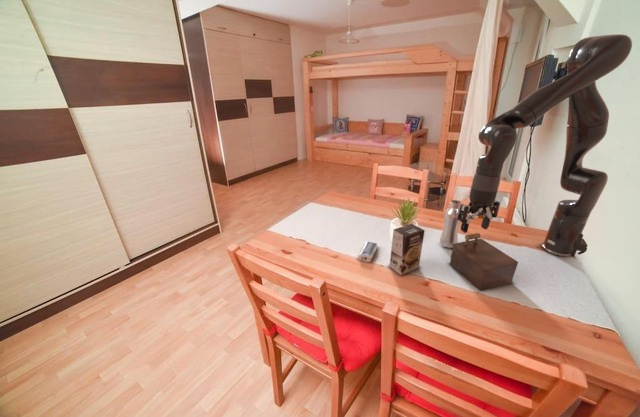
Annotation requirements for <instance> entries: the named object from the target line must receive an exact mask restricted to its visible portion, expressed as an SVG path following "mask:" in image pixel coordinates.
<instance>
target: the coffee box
mask: <svg viewBox="0 0 640 417" xmlns="http://www.w3.org/2000/svg"><path fill="white" fill-rule="evenodd" d="M425 231H426V230H425V229H423V228H421V227H419V226H417V225H415V224H414V223H409V224H406V225H402V226H399V227H396V228H393V231H392V239H391V240H392V241H391V248H390V249H391V251H390V258H389V259H390V260H389V267H390V268H391V269H392V270H393V271H394V272H396V273H397V274H398V275H400V276H404V275H405V274H407V273H410V272H412V271H414V270H417V269H419V268H420V264H421V257H422V249H423V244H424V243H423V242H424V238H425Z"/></svg>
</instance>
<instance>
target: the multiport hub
mask: <svg viewBox="0 0 640 417" xmlns="http://www.w3.org/2000/svg"><path fill="white" fill-rule="evenodd" d="M377 249H378V243H377V242H372V241H366V243H365V244H364V246H363V248H362V249H361V251H360V253H359V256H358V258H359V261H362V262H366V263H371V261H372V260H373V257H374V255H375V253H376V251H377Z"/></svg>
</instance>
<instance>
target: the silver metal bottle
mask: <svg viewBox="0 0 640 417" xmlns="http://www.w3.org/2000/svg"><path fill="white" fill-rule="evenodd" d="M461 204H462V202H461V200H457V199H452V200H450V203H449V207H448V208H447V209H445V211H444V212H443V228H442V232H441V234H440V237H439V243H440V245H441V246H442V247H444V248H448V249H453V246H452V244H454V243H459V242H458V241H459V239H458V234H459V228H460V225H461V223H462V222H461V221H459V220H457V217H458V214H459V210H460V206H461ZM462 217H463V216H462ZM462 217H461V218H462Z"/></svg>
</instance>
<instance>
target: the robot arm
mask: <svg viewBox="0 0 640 417" xmlns="http://www.w3.org/2000/svg"><path fill="white" fill-rule="evenodd" d="M632 49H633V40H632V38H631V37H630V36H628V35H627V34H621V33H618V34H615V33H614V34H606V35H594V36H588V37H584V38H581V39H580V40H579V41H577V42H575V44H574V45H573V47H572V48H571V50H570V52H569V53H568V57H567V61H566V62H567V64H566V67H567V68H566V71H567V72H566V73H567V74H566V75H564V76H562V77H561V78H559V79H556V80H553V81H552V82H550V83H547V84H545V85H544V86H541V87H540V88H538V89H536V90H534V91H533V92H531V93H530V94H529V95H527V96H526V97H525V98H523V99H522V100H521V101H520V102H518V103H517V104H516V105H515V106H514V107H512V108H511V109H509V110H507V111H505V112H504V113H502V114H500V115H498V116H496V117H494V118H493V119H491V120H489V121H488V122H487V123H486V124H485V125H483V126H482V127H481V129H480V130H479V133H478V141H479V142H480V144H482V145H484V146H486V147H489V150H488V152H487V153H485V154H481V155H480V156H479V157H478V160H477V164H476V168H475V172H474V176H473V178H472V183H471V185H470V192H469V194H468V198H469V203H468V204H464V203H461V206H460V210H459V214H458V217H457V220H459V221H461V222H460V231H461V232H463V234H465V233H468V231H469V226H470V223H471V221H472V220H474V219H475V218H476V217H480V216H483V218H482V222H481V225H480V227H481V228H482V229H483V230H488V229H489V227H490V223H491V221H492V220H493V218H497V217H498V213H499V209H500V204H501V202H500V201H498V200H496V198H497V194H498V190H499V186H500V183H501V176H502V172H503V168H504V164H505V162H506V160H507V159H508V158H509V156H510V154H511V152H512V150H513V148H514V147H515V145H516V142H517V139H518V131H517V130H518V129H525V128H528V127H529V126H531V125H533V123H535V122H536V121H538V120H539V119H540V118H541V117H543V116H544V115H545V114H546V113H548V112H549V111H550V110H552V109H553V108H554V107H556V106H557V105H558V104H560V103H562V102H563V101H564V100H566V99H568V108H567V109H568V110H567V121H566V138H565V151H564V152H565V153H564V159H563V164H562V168H561V169H562V170H561V173H560V181H559V184H560V188H561V190H564V191H566V192H569V193H572V194H576V195H579V197H578V199H562V200H560V201H558V204H557V206H556V209H555V210H554V213H553V217H552V219H551V221H550V225H549V228H548V230H547V233H546V234H545V238H544V241H543V243H542V245H541V246H542V249H543V250H544V251H546V252H548V253H549V254H552V255H555V256H559V257H564V258H565V257H567V258H568V257H572V258H574V257H575V256H576V253H577V255H579V256H580V255H582V254H584V253H586V252H587V251H588V243H587V242H586V240H585V238H584V234H583V231H584V230H585V227H586V225H587V223H588V220H589V217H590V216H591V214H592V211H593V210H594V208H595V207H596V205H597V203H598V201H599V199H600V197H601V195H602V193H603V192H604V189H605V187H606V185H607V183H608V178H609V176H608V174H607V173H606V172H605V171H601V170H597V169H592V168H588V167H583V160H584V157H585V156H586V155H587V154H588V153H589V152H590V151H591V150H592V149H593V148H595V147H597V145H598V144H599V143H600V142H601V141H603V139H604V138H605V137H606V135H607V132H608V126H609V120H610V112H609V109H608V106H607V104H606V102H605V100H604V99H603V97H602V96H601V93H600V92H599V90H598V87H597V82H596V81H598V80H599V79H601V78H603V77H605V76H607V75H609V74H610V73H611V72H613V71H614V70H616V69H618V68H619V67H620V66H621V65H622V64H623V63H624V62H625V61H626V60H627V58H628V57H629V56H630V53H631V51H632ZM461 217H462V218H461ZM577 251H578V252H577Z"/></svg>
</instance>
